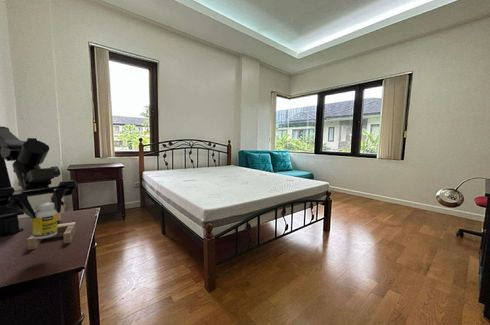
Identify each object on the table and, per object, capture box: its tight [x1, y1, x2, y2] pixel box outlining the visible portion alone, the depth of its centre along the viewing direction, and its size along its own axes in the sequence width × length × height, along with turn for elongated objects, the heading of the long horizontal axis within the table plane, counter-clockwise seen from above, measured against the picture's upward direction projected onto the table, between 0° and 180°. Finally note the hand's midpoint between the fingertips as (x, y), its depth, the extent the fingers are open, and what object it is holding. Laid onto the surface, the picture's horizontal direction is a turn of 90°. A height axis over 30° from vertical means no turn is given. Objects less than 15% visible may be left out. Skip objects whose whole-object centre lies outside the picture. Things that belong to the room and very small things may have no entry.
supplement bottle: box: [32, 201, 58, 239], centre depth 61 cm, size 5×5×10 cm
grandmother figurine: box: [49, 193, 66, 222], centre depth 87 cm, size 8×4×13 cm, turn 172°
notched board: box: [26, 221, 77, 251], centre depth 72 cm, size 10×10×4 cm
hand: (47, 214), depth 60 cm, fingers closed on supplement bottle, 5 cm apart
